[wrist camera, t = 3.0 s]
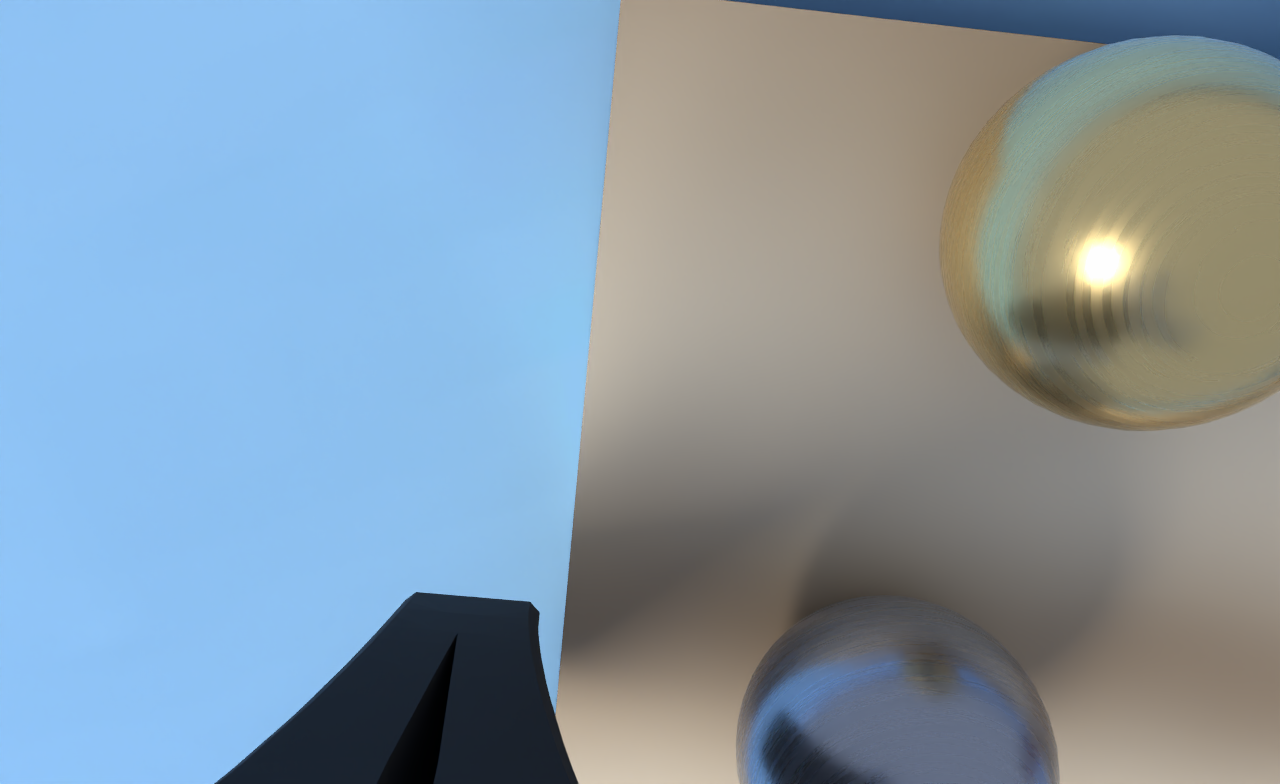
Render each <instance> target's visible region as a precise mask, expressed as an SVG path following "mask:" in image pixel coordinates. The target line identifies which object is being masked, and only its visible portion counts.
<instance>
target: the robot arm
mask: <svg viewBox="0 0 1280 784" xmlns="http://www.w3.org/2000/svg"><path fill="white" fill-rule="evenodd" d="M538 624H539V611H538V610H537V609H536V608H535V607H534V606H533V605H532V603H531V602H526V601H514V600H502V599H490V598H478V597H467V596H455V595H443V594H431V593H419V592H416V593H414V594H413V595H412V596H410V597H409V598H408V599H406V600H405V601H404V602H403V603H402V605H401V606H400V607H399V608H398V609H397V610H396V611H395V613H394V614H393V615H392V616H391V617H390V618H389V619H388V620H387V622H386V623H385V624H384V625H383V626H382V627H381V628H380V629H379V630H378V631H377V633H376V634H375V635H374V636H373V637H372V638H371V639H370V640H369V641H368V642H367V643H366V644H365V645H364V646H363V647H362V649H361V650H360V651H359V652H358V653H357V654H356V655H355V656H354V657H353V658H352V659H351V660H350V661H349V662H348V663H347V664H346V665H345V666H344V667H343V668H342V669H341V670H340V671H339V672H338V673H337V674H336V675H335V676H334V677H333V678H332V679H331V680H330V681H329V682H328V683H327V684H326V685H325V686H324V687H323V688H322V689H321V690H320V691H319V692H318V693H317V694H316V695H315V696H314V697H313V698H312V699H311V700H309V701H308V702H307V703H306V704H305V705H304V706H303V707H302V708H301V709H300V710H299V711H298V712H297V713H296V714H295V715H294V716H293V717H292V718H290V719H289V720H288V721H287V722H286V723H285V724H284V725H283V726H281V727H280V728H279V729H278V730H277V731H276V732H274V733H273V734H272V735H271V736H270V737H269V738H268V739H266V740H265V741H264V742H263V743H262V744H261V745H260V746H258V747H257V748H256V749H255V750H254V751H253V752H252V753H250V754H249V755H248V756H247V757H246V758H245V759H244V760H242V761H241V762H240V763H239V764H238V765H237V766H236V767H234V768H233V769H232V770H231V771H230V772H228V773H227V774H226V775H225V776H223V777H222V778H221V779H220V780H218V781H217V782H216V783H215V784H579V783H578V781H577V778H576V776H575V773H574V771H573V768H572V765H571V762H570V760H569V757H568V754H567V751H566V748H565V745H564V743H563V739H562V736H561V733H560V730H559V726H558V723H557V720H556V716H555V713H554V710H553V706H552V703H551V700H550V696H549V692H548V688H547V684H546V679H545V674H544V669H543V664H542V659H541V653H540V646H539V636H538Z"/></svg>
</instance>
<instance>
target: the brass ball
mask: <svg viewBox="0 0 1280 784" xmlns="http://www.w3.org/2000/svg"><path fill="white" fill-rule="evenodd" d="M939 260H940V269H941V277H942V282H943V285H944V289H945V293H946V297H947V300H948V304H949V307H950V309H951V312H952V314H953V316H954V319H955V321H956V323H957V326H958V328H959V329H960V331H961V333H962V334H963V336H964V338H965V339H966V341H967V342H968V344H969V346H970V347H971V348H972V350H973V351H974V352H975V354H976V355H977V356H978V357H979V358H980V360H981V361H982V362H983V363H984V364H985V366H986V367H987V368H988V369H989V370H990V371H991V372H992V373H993V374H994V375H995V376H996V377H998V378H999V379H1000V380H1001V381H1002V382H1003V383H1004V384H1006V385H1007V386H1008V387H1010V388H1011V389H1012V390H1013V391H1015V392H1016V393H1018V394H1019V395H1021V396H1022V397H1024V398H1025V399H1027V400H1029V401H1030V402H1032V403H1033V404H1035V405H1037V406H1039V407H1042V408H1044V409H1046V410H1048V411H1050V412H1053V413H1055V414H1057V415H1060V416H1062V417H1064V418H1067V419H1070V420H1073V421H1077V422H1080V423H1083V424H1087V425H1092V426H1098V427H1105V428H1111V429H1117V430H1123V431H1157V430H1168V429H1180V428H1186V427H1191V426H1196V425H1201V424H1206V423H1209V422H1212V421H1215V420H1219V419H1222V418H1225V417H1228V416H1231V415H1233V414H1235V413H1238V412H1240V411H1242V410H1245V409H1247V408H1249V407H1252V406H1254V405H1256V404H1258V403H1260V402H1262V401H1264V400H1266V399H1267V398H1269V397H1271V396H1273V395H1274V394H1276V393H1278V392H1280V60H1279V59H1277V58H1275V57H1273V56H1271V55H1269V54H1267V53H1264V52H1262V51H1259V50H1256V49H1253V48H1251V47H1248V46H1245V45H1242V44H1239V43H1234V42H1228V41H1223V40H1218V39H1213V38H1207V37H1201V36H1183V35H1168V36H1157V37H1147V38H1136V39H1130V40H1126V41H1121V42H1117V43H1113V44H1108V45H1105V46H1102V47H1099V48H1097V49H1094V50H1091V51H1089V52H1086V53H1083V54H1080V55H1078V56H1075V57H1073V58H1071V59H1069V60H1067V61H1065V62H1063V63H1061V64H1059V65H1057V66H1055V67H1053V68H1051V69H1049V70H1047V71H1046V72H1044V73H1043V74H1041V75H1040V76H1038V77H1037V78H1035V79H1034V80H1032V81H1031V82H1029V83H1028V84H1026V85H1025V86H1024V87H1023V88H1022V89H1020V90H1019V91H1018V92H1017V93H1016V94H1015V95H1013V96H1012V97H1011V98H1010V99H1009V100H1007V101H1006V102H1005V103H1004V104H1003V105H1002V106H1001V108H1000V109H999V110H998V111H997V112H996V113H995V114H994V115H993V116H992V117H991V118H990V119H989V120H988V122H987V123H986V124H985V125H984V126H983V128H982V129H981V130H980V132H979V133H978V135H977V136H976V137H975V139H974V140H973V141H972V143H971V144H970V146H969V148H968V149H967V151H966V153H965V155H964V156H963V158H962V160H961V162H960V163H959V166H958V168H957V170H956V173H955V175H954V177H953V180H952V182H951V185H950V188H949V191H948V195H947V198H946V202H945V205H944V209H943V215H942V221H941V228H940V237H939Z"/></svg>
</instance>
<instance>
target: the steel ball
mask: <svg viewBox="0 0 1280 784" xmlns="http://www.w3.org/2000/svg"><path fill="white" fill-rule="evenodd" d="M736 760H737V774H738V778H739V782H740V784H1059V783H1060V774H1059V762H1058V750H1057V744H1056V740H1055V737H1054V733H1053V729H1052V726H1051V722H1050V718H1049V715H1048V713H1047V711H1046V709H1045V706H1044V704H1043V702H1042V700H1041V698H1040V696H1039V694H1038V692H1037V689H1036V687H1035V686H1034V684H1033V683H1032V681H1031V680H1030V678H1029V677H1028V675H1027V674H1026V672H1025V671H1024V670H1023V668H1022V667H1021V665H1020V664H1019V663H1018V661H1017V660H1016V659H1015V658H1014V657H1013V656H1012V655H1011V653H1010V652H1009V651H1008V650H1007V649H1006V648H1005V647H1004V646H1003V645H1002V644H1001V643H1000V642H999V641H998V640H996V639H995V638H994V637H993V636H992V635H990V634H989V633H988V632H987V631H985V630H984V629H983V628H982V627H980V626H978V625H977V624H975V623H974V622H972V621H971V620H969V619H967V618H965V617H964V616H962V615H960V614H958V613H957V612H955V611H952V610H950V609H947V608H945V607H942V606H940V605H937V604H934V603H931V602H927V601H924V600H920V599H916V598H911V597H904V596H891V595H876V596H864V597H857V598H852V599H847V600H843V601H840V602H837V603H834V604H831V605H828V606H826V607H824V608H822V609H819V610H817V611H815V612H814V613H812V614H810V615H808V616H807V617H805V618H803V619H802V620H800V621H799V622H798V623H796V624H795V625H794V626H792V627H791V628H790V629H788V630H787V631H786V632H785V633H784V634H783V635H782V636H781V637H780V638H779V639H778V640H777V641H776V642H775V643H774V644H773V645H772V647H771V648H770V649H769V650H768V652H767V653H766V654H765V656H764V657H763V658H762V660H761V662H760V663H759V665H758V666H757V668H756V670H755V671H754V673H753V675H752V677H751V680H750V682H749V684H748V687H747V689H746V692H745V695H744V697H743V700H742V704H741V708H740V712H739V717H738V724H737V733H736Z"/></svg>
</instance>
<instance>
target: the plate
mask: <svg viewBox="0 0 1280 784" xmlns="http://www.w3.org/2000/svg"><path fill="white" fill-rule="evenodd" d="M1105 45H1108V44H1102V43H1093V42H1085V41H1076V40H1067V39H1058V38H1050V37H1041V36H1032V35H1023V34H1015V33H1006V32H997V31H988V30H979V29H971V28H962V27H953V26H944V25H936V24H927V23H918V22H909V21H901V20H892V19H883V18H874V17H866V16H857V15H848V14H839V13H831V12H822V11H813V10H804V9H796V8H787V7H778V6H769V5H760V4H752V3H743V2H734V1H725V0H621V3H620V14H619V25H618V36H617V47H616V58H615V69H614V80H613V91H612V102H611V113H610V124H609V135H608V146H607V157H606V168H605V179H604V190H603V201H602V212H601V223H600V234H599V245H598V256H597V267H596V278H595V289H594V300H593V311H592V322H591V333H590V343H589V354H588V365H587V376H586V387H585V398H584V409H583V420H582V431H581V442H580V453H579V464H578V475H577V486H576V497H575V508H574V519H573V530H572V541H571V552H570V563H569V574H568V585H567V596H566V607H565V618H564V629H563V640H562V651H561V662H560V672H559V683H558V694H557V705H556V720H557V723H558V726H559V730H560V733H561V736H562V739H563V743H564V745H565V748H566V751H567V754H568V757H569V760H570V762H571V765H572V768H573V771H574V773H575V776H576V778H577V781H578V783H579V784H740V782H739V778H738V774H737V760H736V733H737V724H738V717H739V712H740V708H741V704H742V700H743V697H744V695H745V692H746V689H747V687H748V684H749V682H750V680H751V677H752V675H753V673H754V671H755V670H756V668H757V666H758V665H759V663H760V662H761V660H762V658H763V657H764V656H765V654H766V653H767V652H768V650H769V649H770V648H771V647H772V645H773V644H774V643H775V642H776V641H777V640H778V639H779V638H780V637H781V636H782V635H783V634H784V633H785V632H786V631H787V630H788V629H790V628H791V627H792V626H794V625H795V624H796V623H798V622H799V621H800V620H802V619H803V618H805V617H807V616H808V615H810V614H812V613H814V612H815V611H817V610H819V609H822V608H824V607H826V606H828V605H831V604H834V603H837V602H840V601H843V600H847V599H852V598H857V597H864V596H876V595H891V596H904V597H911V598H916V599H920V600H924V601H927V602H931V603H934V604H937V605H940V606H942V607H945V608H947V609H950V610H952V611H955V612H957V613H958V614H960V615H962V616H964V617H965V618H967V619H969V620H971V621H972V622H974V623H975V624H977V625H978V626H980V627H982V628H983V629H984V630H985V631H987V632H988V633H989V634H990V635H992V636H993V637H994V638H995V639H996V640H998V641H999V642H1000V643H1001V644H1002V645H1003V646H1004V647H1005V648H1006V649H1007V650H1008V651H1009V652H1010V653H1011V655H1012V656H1013V657H1014V658H1015V659H1016V660H1017V661H1018V663H1019V664H1020V665H1021V667H1022V668H1023V670H1024V671H1025V672H1026V674H1027V675H1028V677H1029V678H1030V680H1031V681H1032V683H1033V684H1034V686H1035V687H1036V689H1037V692H1038V694H1039V696H1040V698H1041V700H1042V702H1043V704H1044V706H1045V709H1046V711H1047V713H1048V715H1049V718H1050V722H1051V726H1052V729H1053V733H1054V737H1055V740H1056V744H1057V750H1058V762H1059V774H1060V783H1059V784H1280V392H1278V393H1276V394H1274V395H1273V396H1271V397H1269V398H1267V399H1266V400H1264V401H1262V402H1260V403H1258V404H1256V405H1254V406H1252V407H1249V408H1247V409H1245V410H1242V411H1240V412H1238V413H1235V414H1233V415H1231V416H1228V417H1225V418H1222V419H1219V420H1215V421H1212V422H1209V423H1206V424H1201V425H1196V426H1191V427H1186V428H1180V429H1168V430H1157V431H1123V430H1117V429H1111V428H1105V427H1098V426H1092V425H1087V424H1083V423H1080V422H1077V421H1073V420H1070V419H1067V418H1064V417H1062V416H1060V415H1057V414H1055V413H1053V412H1050V411H1048V410H1046V409H1044V408H1042V407H1039V406H1037V405H1035V404H1033V403H1032V402H1030V401H1029V400H1027V399H1025V398H1024V397H1022V396H1021V395H1019V394H1018V393H1016V392H1015V391H1013V390H1012V389H1011V388H1010V387H1008V386H1007V385H1006V384H1004V383H1003V382H1002V381H1001V380H1000V379H999V378H998V377H996V376H995V375H994V374H993V373H992V372H991V371H990V370H989V369H988V368H987V367H986V366H985V364H984V363H983V362H982V361H981V360H980V358H979V357H978V356H977V355H976V354H975V352H974V351H973V350H972V348H971V347H970V346H969V344H968V342H967V341H966V339H965V338H964V336H963V334H962V333H961V331H960V329H959V328H958V326H957V323H956V321H955V319H954V316H953V314H952V312H951V309H950V307H949V304H948V300H947V297H946V293H945V289H944V285H943V282H942V277H941V269H940V260H939V237H940V228H941V221H942V215H943V209H944V205H945V202H946V198H947V195H948V191H949V188H950V185H951V182H952V180H953V177H954V175H955V173H956V170H957V168H958V166H959V163H960V162H961V160H962V158H963V156H964V155H965V153H966V151H967V149H968V148H969V146H970V144H971V143H972V141H973V140H974V139H975V137H976V136H977V135H978V133H979V132H980V130H981V129H982V128H983V126H984V125H985V124H986V123H987V122H988V120H989V119H990V118H991V117H992V116H993V115H994V114H995V113H996V112H997V111H998V110H999V109H1000V108H1001V106H1002V105H1003V104H1004V103H1005V102H1006V101H1007V100H1009V99H1010V98H1011V97H1012V96H1013V95H1015V94H1016V93H1017V92H1018V91H1019V90H1020V89H1022V88H1023V87H1024V86H1025V85H1026V84H1028V83H1029V82H1031V81H1032V80H1034V79H1035V78H1037V77H1038V76H1040V75H1041V74H1043V73H1044V72H1046V71H1047V70H1049V69H1051V68H1053V67H1055V66H1057V65H1059V64H1061V63H1063V62H1065V61H1067V60H1069V59H1071V58H1073V57H1075V56H1078V55H1080V54H1083V53H1086V52H1089V51H1091V50H1094V49H1097V48H1099V47H1102V46H1105Z"/></svg>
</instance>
